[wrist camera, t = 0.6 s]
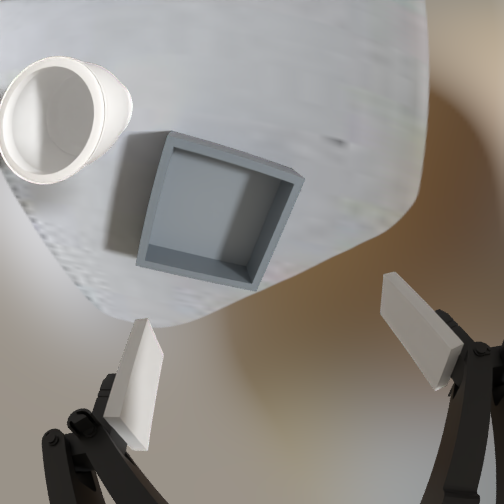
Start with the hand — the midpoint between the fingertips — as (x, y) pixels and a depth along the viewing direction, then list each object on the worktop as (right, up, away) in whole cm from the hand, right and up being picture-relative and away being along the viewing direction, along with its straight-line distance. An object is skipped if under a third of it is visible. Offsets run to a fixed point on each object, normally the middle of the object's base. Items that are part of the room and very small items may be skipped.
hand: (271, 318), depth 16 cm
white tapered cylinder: (-19, +21, +14) cm, 31 cm away
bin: (-6, +9, +22) cm, 25 cm away
